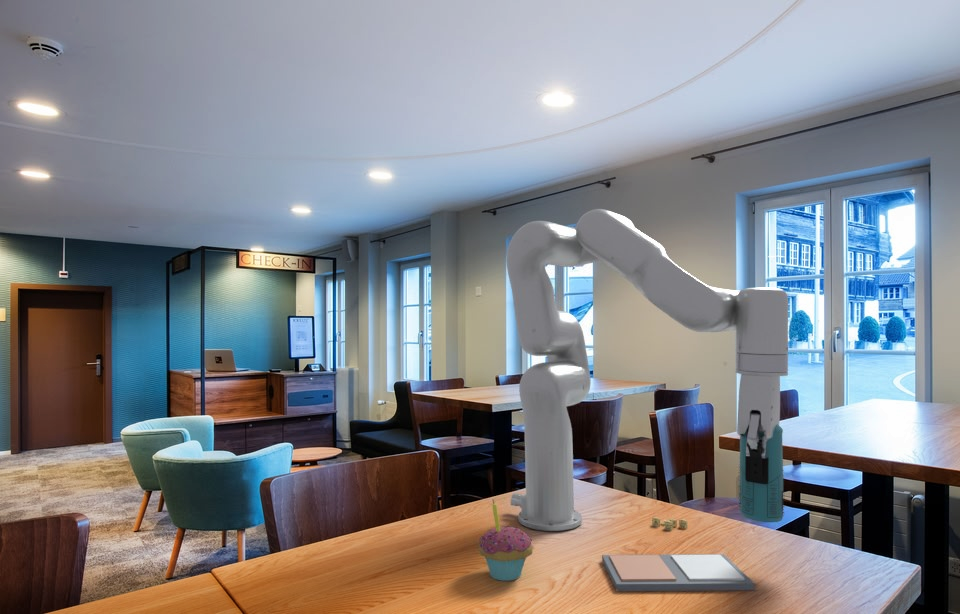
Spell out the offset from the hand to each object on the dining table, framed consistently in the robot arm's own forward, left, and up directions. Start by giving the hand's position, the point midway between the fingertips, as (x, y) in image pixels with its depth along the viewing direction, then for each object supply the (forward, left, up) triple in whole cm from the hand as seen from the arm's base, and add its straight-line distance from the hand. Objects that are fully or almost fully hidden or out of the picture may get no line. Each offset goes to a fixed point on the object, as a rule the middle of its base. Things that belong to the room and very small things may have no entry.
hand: (760, 476), depth 92 cm
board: (-11, -10, -14) cm, 21 cm away
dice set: (-19, +12, -15) cm, 27 cm away
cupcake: (-33, -24, -15) cm, 44 cm away
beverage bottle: (0, 0, -8) cm, 8 cm away
